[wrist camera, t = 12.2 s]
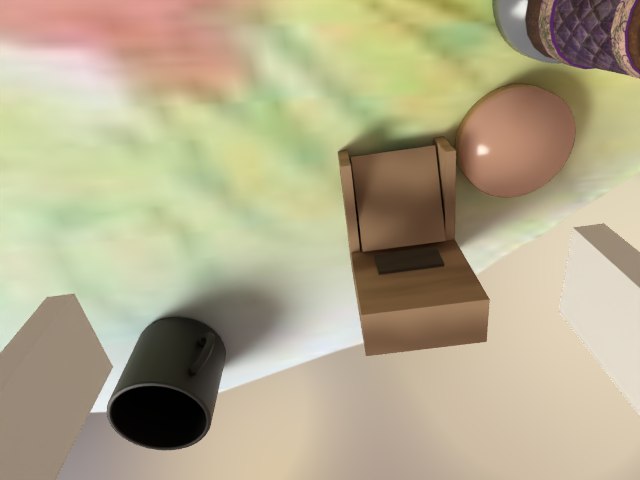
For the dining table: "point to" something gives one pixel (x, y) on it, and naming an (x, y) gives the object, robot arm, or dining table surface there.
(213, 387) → the mug
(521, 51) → the stand slate
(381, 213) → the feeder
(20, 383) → the robot arm
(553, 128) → the pink disc
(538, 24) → the mug
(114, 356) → the dining table surface
